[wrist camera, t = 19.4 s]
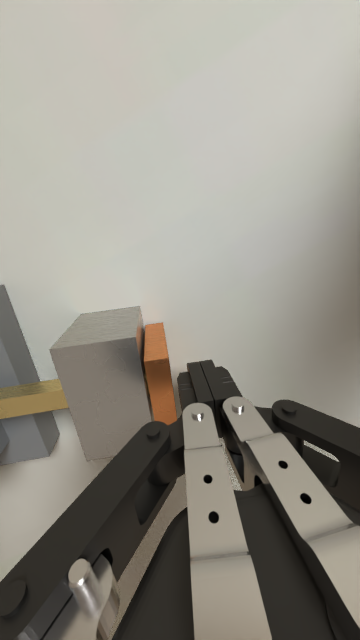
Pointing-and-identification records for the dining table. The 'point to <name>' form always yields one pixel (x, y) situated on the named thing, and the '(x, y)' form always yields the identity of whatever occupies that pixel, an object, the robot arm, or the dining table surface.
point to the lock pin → (53, 398)
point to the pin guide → (104, 379)
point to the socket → (11, 370)
